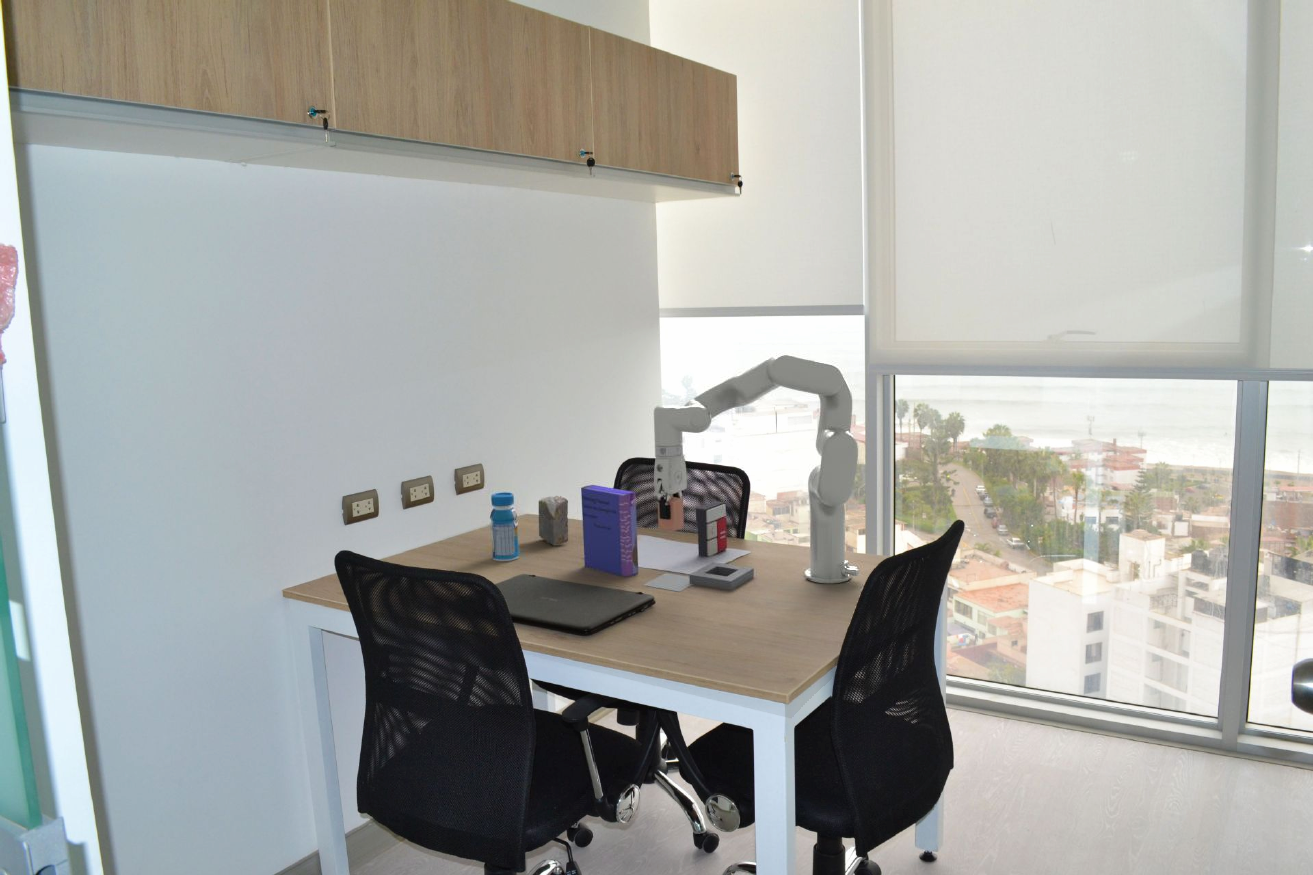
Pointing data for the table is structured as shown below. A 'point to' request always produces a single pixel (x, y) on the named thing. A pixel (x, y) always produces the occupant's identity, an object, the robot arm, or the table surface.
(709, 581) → the pocket tray
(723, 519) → the grey and red box
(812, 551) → the robot arm
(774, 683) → the table surface
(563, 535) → the geological specimen
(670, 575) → the mat
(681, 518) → the block
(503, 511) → the beverage bottle
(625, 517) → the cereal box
